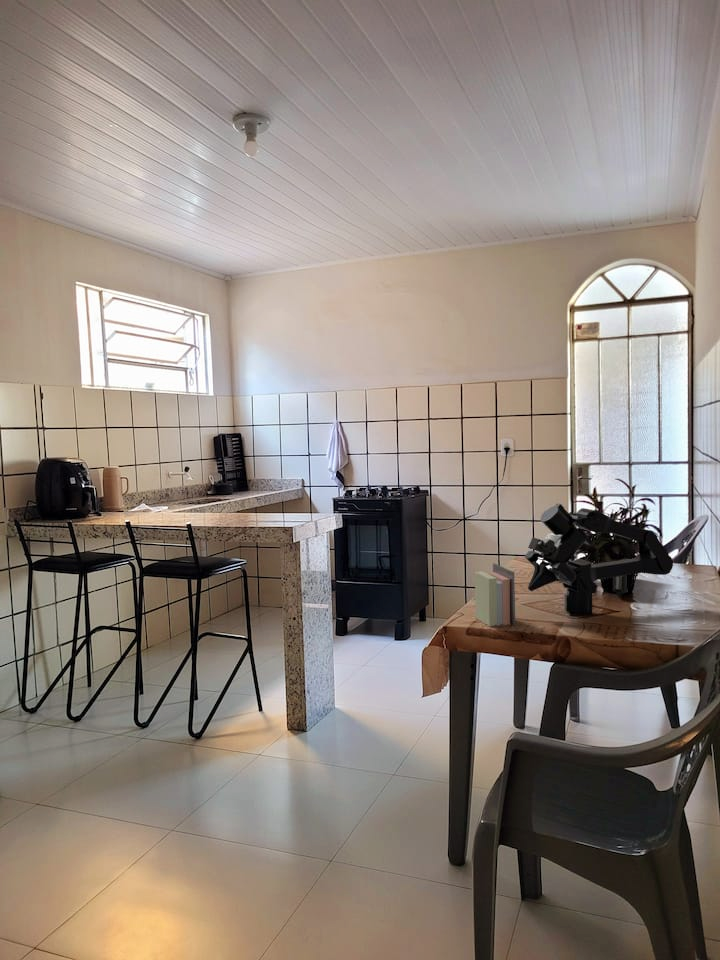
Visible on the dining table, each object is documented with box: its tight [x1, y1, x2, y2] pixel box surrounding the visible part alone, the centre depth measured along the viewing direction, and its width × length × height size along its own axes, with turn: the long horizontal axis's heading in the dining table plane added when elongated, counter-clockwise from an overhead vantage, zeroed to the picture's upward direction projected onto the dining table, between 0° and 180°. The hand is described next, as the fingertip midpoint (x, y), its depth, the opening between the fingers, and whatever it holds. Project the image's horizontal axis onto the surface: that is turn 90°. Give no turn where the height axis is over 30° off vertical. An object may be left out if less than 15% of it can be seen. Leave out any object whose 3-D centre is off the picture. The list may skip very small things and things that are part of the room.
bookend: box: [492, 563, 516, 627], centre depth 187 cm, size 1×12×14 cm, turn 14°
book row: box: [474, 571, 511, 627], centre depth 186 cm, size 6×9×12 cm, turn 14°
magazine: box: [612, 573, 639, 598], centre depth 219 cm, size 17×3×30 cm
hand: (529, 589), depth 189 cm, fingers closed
